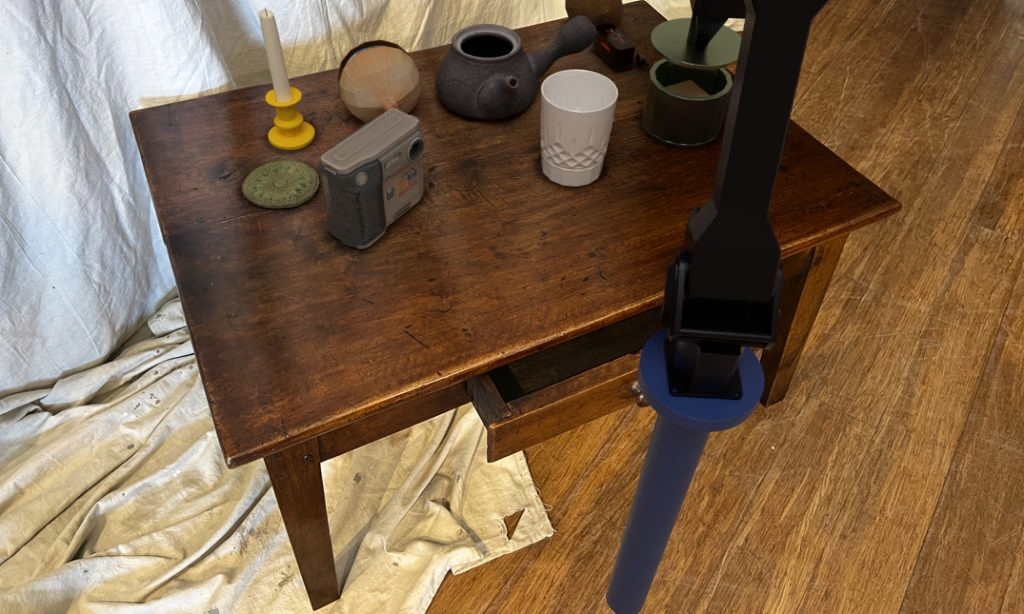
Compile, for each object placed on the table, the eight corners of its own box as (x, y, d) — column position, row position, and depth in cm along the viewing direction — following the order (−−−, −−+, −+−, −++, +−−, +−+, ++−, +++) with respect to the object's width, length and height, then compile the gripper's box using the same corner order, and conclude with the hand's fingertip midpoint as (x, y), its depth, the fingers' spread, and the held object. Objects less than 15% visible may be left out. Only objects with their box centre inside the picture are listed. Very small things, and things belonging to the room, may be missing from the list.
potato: (606, -41, 110) (553, -25, 111) (623, -37, 99) (563, -19, 100) (619, 18, 114) (567, 34, 114) (636, 28, 103) (578, 46, 103)
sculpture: (394, 16, 94) (423, 49, 82) (416, 90, 99) (445, 132, 87) (318, 40, 92) (336, 77, 81) (345, 114, 98) (365, 159, 86)
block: (704, 126, 94) (711, 97, 91) (676, 134, 92) (683, 105, 89) (684, 108, 96) (691, 79, 93) (657, 116, 95) (662, 87, 92)
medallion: (226, 196, 83) (225, 190, 83) (274, 155, 88) (272, 149, 88) (289, 219, 81) (287, 214, 80) (334, 177, 86) (333, 171, 85)
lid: (749, 77, 84) (762, 32, 80) (652, 72, 84) (660, 27, 80) (735, 29, 91) (746, -15, 87) (646, 24, 91) (653, -20, 87)
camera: (359, 257, 78) (347, 176, 70) (318, 232, 80) (302, 151, 73) (436, 199, 84) (432, 119, 77) (396, 177, 86) (388, 97, 79)
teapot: (459, 150, 90) (457, 71, 83) (424, 78, 100) (420, 2, 92) (611, 122, 95) (622, 45, 87) (563, 56, 104) (570, -18, 97)
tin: (723, 150, 91) (737, 101, 87) (644, 146, 92) (653, 97, 87) (714, 105, 98) (726, 57, 93) (639, 101, 98) (647, 53, 93)
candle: (323, 128, 92) (300, 0, 80) (302, 154, 89) (275, 24, 77) (282, 119, 93) (254, -9, 81) (260, 145, 90) (227, 15, 78)
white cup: (531, 148, 91) (536, 70, 83) (599, 145, 91) (610, 67, 84) (540, 192, 85) (546, 113, 78) (612, 189, 86) (625, 110, 79)
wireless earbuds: (618, 76, 101) (622, 53, 99) (590, 49, 105) (593, 27, 103) (649, 69, 102) (653, 46, 100) (620, 42, 107) (624, 20, 104)
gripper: (641, -152, 81) (621, -5, 93) (654, -77, 69) (629, 82, 80) (750, -146, 81) (716, 0, 93) (783, -71, 68) (739, 88, 80)
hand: (698, 39), depth 86 cm, fingers closed on lid, 2 cm apart
